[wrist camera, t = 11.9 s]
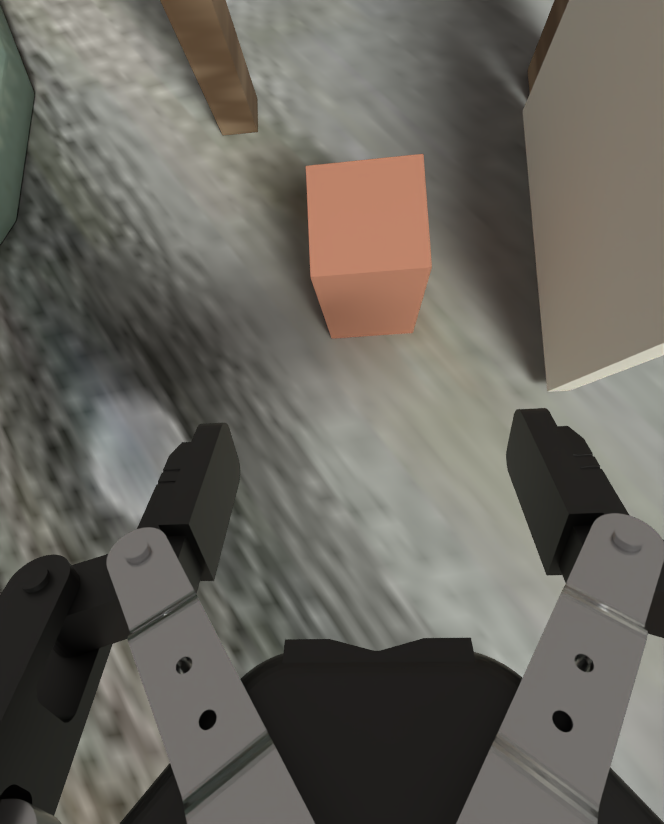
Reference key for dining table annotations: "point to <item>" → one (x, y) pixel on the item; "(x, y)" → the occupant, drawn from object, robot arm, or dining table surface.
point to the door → (599, 190)
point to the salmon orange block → (369, 243)
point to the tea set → (12, 125)
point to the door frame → (226, 68)
